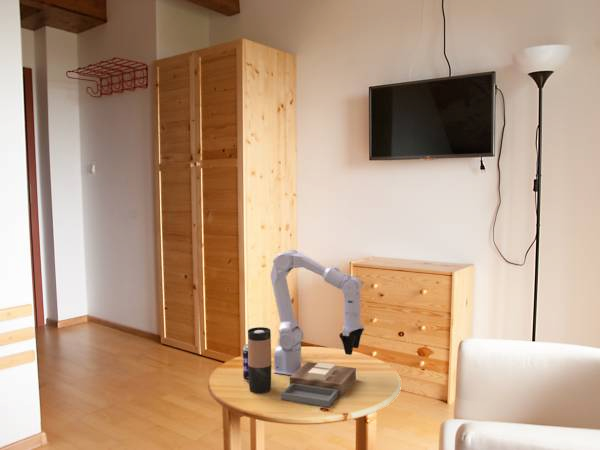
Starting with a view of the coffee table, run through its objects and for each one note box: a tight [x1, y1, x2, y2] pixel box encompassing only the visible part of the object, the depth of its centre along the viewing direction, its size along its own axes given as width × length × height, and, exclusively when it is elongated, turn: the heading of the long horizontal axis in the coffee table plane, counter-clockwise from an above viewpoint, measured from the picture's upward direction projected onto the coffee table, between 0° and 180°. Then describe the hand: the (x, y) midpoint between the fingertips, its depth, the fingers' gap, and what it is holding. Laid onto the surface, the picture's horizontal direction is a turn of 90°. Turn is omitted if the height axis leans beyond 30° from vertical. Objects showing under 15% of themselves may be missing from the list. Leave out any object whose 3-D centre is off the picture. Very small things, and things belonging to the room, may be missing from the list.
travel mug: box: [247, 326, 272, 395], centre depth 169 cm, size 8×8×20 cm
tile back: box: [314, 361, 336, 374], centre depth 175 cm, size 6×4×2 cm
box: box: [280, 383, 339, 409], centre depth 162 cm, size 16×9×2 cm, turn 67°
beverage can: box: [242, 343, 249, 382], centre depth 178 cm, size 6×6×12 cm
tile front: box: [308, 368, 330, 381], centre depth 169 cm, size 6×4×2 cm
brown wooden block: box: [289, 361, 357, 398], centre depth 173 cm, size 18×16×4 cm
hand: (351, 350), depth 177 cm, fingers open, 7 cm apart
